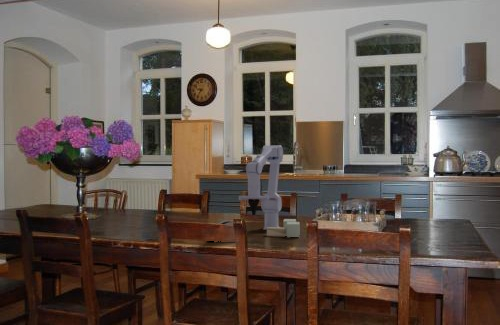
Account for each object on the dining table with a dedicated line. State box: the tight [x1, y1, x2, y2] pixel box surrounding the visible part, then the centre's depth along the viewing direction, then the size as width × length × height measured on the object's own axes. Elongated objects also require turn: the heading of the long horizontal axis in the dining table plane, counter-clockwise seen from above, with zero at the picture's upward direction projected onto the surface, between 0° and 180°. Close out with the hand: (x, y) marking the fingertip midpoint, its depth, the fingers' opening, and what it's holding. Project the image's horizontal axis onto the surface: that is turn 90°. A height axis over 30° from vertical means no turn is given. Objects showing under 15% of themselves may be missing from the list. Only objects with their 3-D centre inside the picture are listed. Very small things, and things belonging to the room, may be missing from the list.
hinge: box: [217, 220, 234, 225], centre depth 223 cm, size 17×5×10 cm, turn 152°
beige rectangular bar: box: [266, 226, 287, 237], centre depth 234 cm, size 4×14×4 cm, turn 83°
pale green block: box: [283, 218, 297, 228], centre depth 243 cm, size 8×6×6 cm
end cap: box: [286, 221, 301, 238], centre depth 233 cm, size 8×6×6 cm
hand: (253, 215), depth 235 cm, fingers closed
